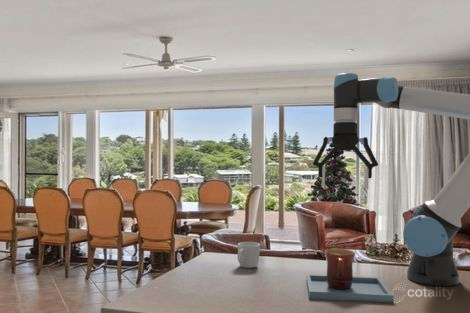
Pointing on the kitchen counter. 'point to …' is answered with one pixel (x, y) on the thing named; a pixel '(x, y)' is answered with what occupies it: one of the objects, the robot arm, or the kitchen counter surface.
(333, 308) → the kitchen counter surface
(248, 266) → the cup
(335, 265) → the mug
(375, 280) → the tray
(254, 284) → the kitchen counter surface
